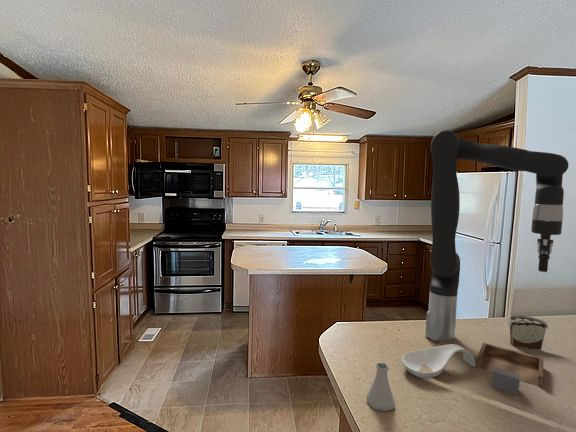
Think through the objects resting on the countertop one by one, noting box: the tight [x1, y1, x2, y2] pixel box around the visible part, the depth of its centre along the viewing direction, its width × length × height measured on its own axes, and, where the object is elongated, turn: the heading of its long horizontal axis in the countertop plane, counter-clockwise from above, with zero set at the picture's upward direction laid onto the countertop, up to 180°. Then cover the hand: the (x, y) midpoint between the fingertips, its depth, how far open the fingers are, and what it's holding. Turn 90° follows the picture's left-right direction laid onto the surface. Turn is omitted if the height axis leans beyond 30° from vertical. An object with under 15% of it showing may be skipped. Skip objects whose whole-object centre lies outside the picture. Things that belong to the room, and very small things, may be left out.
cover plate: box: [491, 367, 521, 396], centre depth 89 cm, size 12×11×6 cm
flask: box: [366, 361, 396, 412], centre depth 83 cm, size 7×7×10 cm
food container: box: [507, 314, 549, 351], centre depth 117 cm, size 12×6×10 cm, turn 84°
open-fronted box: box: [475, 342, 544, 388], centre depth 100 cm, size 16×13×4 cm
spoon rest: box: [401, 343, 477, 379], centre depth 99 cm, size 24×12×7 cm, turn 106°
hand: (542, 269), depth 105 cm, fingers open, 8 cm apart
